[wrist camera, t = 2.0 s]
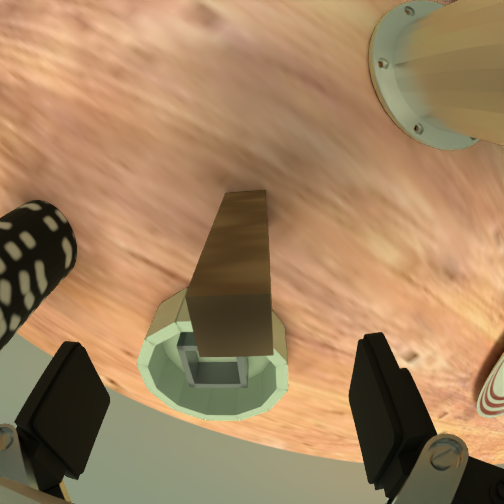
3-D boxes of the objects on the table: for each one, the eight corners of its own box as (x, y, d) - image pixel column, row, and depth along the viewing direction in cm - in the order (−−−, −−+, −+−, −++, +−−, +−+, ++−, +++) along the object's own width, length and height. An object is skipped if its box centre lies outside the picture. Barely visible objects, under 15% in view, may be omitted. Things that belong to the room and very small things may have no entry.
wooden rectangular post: (265, 189, 24) (270, 293, 11) (268, 227, 25) (273, 355, 12) (225, 192, 24) (185, 296, 11) (229, 229, 25) (199, 357, 12)
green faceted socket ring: (283, 281, 27) (287, 317, 22) (285, 382, 32) (288, 419, 28) (138, 288, 28) (119, 321, 23) (170, 383, 33) (161, 417, 29)
